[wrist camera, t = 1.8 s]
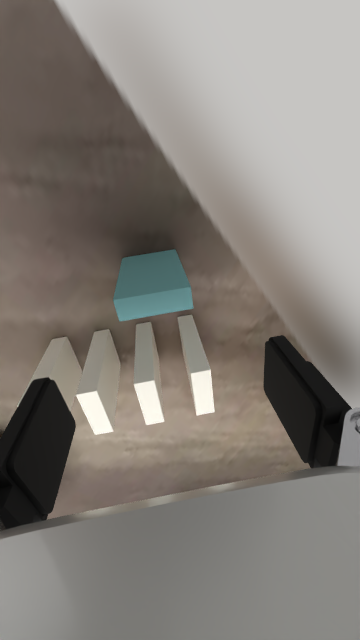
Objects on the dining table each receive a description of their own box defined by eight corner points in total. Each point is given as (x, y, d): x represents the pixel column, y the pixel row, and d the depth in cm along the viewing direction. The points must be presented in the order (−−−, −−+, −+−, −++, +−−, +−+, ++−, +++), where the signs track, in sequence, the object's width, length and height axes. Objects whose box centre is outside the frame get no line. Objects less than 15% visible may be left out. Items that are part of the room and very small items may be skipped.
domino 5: (177, 317, 28) (190, 373, 20) (191, 314, 28) (210, 369, 20) (182, 353, 31) (196, 415, 23) (196, 350, 31) (214, 412, 23)
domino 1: (52, 339, 27) (16, 405, 20) (67, 336, 28) (37, 401, 20) (68, 373, 30) (43, 445, 22) (82, 371, 30) (61, 441, 22)
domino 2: (94, 331, 28) (75, 394, 20) (109, 329, 28) (96, 390, 20) (107, 366, 30) (95, 434, 23) (120, 364, 30) (113, 431, 23)
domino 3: (126, 274, 25) (119, 321, 17) (122, 257, 24) (113, 300, 16) (177, 265, 25) (193, 308, 17) (175, 249, 24) (190, 286, 17)
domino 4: (136, 324, 28) (133, 384, 20) (150, 321, 28) (154, 380, 20) (145, 360, 30) (146, 425, 23) (158, 357, 30) (164, 421, 23)
